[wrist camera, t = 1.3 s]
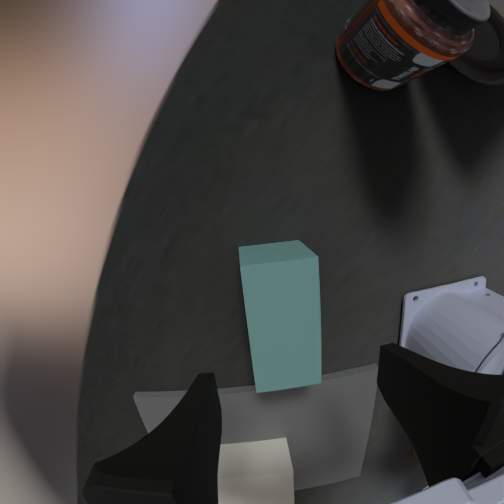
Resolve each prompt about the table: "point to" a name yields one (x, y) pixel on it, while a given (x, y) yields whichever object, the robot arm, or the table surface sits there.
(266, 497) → the base brick
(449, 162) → the table surface
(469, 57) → the bluetooth speaker
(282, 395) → the baseplate
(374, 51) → the supplement bottle
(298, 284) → the top brick
